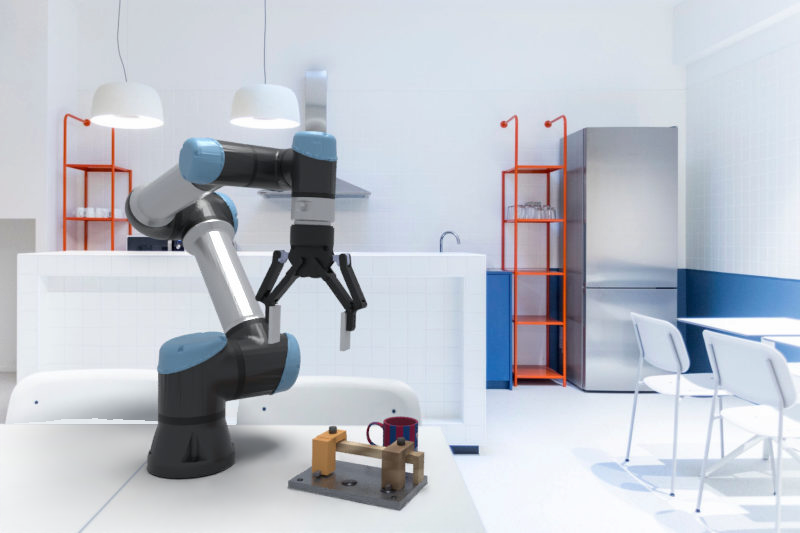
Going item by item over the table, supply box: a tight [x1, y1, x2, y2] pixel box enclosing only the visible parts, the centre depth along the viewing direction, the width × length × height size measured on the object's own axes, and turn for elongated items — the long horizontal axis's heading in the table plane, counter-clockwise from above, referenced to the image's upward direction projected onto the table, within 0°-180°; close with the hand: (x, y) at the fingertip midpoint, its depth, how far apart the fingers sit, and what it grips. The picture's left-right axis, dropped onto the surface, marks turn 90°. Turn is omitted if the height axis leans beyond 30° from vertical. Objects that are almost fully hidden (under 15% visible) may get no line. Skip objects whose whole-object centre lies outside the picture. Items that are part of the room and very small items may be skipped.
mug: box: [365, 416, 419, 452], centre depth 116 cm, size 7×10×7 cm
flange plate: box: [287, 459, 428, 511], centre depth 101 cm, size 20×12×1 cm, turn 67°
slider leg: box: [311, 425, 348, 476], centre depth 105 cm, size 3×8×7 cm, turn 157°
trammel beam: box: [336, 437, 425, 491], centre depth 102 cm, size 20×8×7 cm, turn 67°
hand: (308, 346), depth 105 cm, fingers open, 13 cm apart
